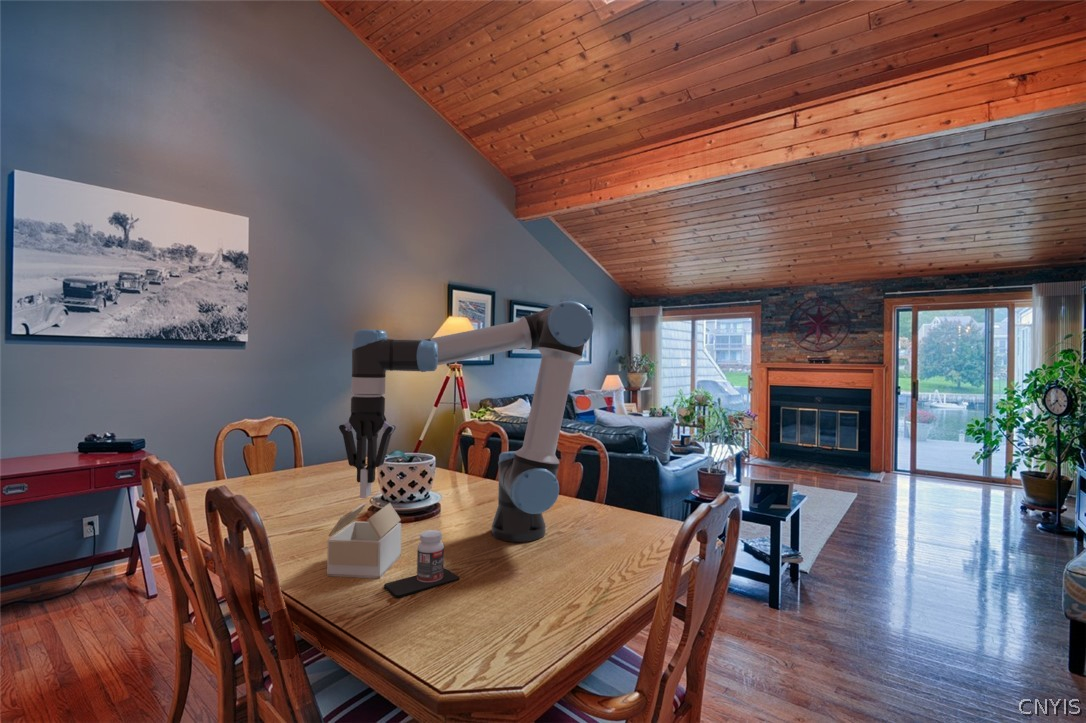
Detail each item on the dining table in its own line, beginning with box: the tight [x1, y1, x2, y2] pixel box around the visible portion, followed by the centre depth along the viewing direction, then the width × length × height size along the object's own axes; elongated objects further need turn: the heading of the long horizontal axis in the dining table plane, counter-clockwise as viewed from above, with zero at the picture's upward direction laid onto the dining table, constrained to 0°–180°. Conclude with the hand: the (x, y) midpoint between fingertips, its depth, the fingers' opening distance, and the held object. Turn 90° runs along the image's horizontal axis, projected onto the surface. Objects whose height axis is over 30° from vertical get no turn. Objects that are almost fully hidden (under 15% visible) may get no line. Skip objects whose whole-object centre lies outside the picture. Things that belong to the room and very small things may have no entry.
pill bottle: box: [416, 529, 445, 582], centre depth 108 cm, size 6×6×10 cm
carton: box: [326, 520, 402, 579], centre depth 115 cm, size 12×14×8 cm
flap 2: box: [366, 502, 402, 539], centre depth 115 cm, size 1×12×5 cm
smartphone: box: [383, 568, 460, 600], centre depth 106 cm, size 7×1×15 cm
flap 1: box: [328, 501, 367, 537], centre depth 115 cm, size 1×12×5 cm
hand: (365, 496), depth 115 cm, fingers closed
